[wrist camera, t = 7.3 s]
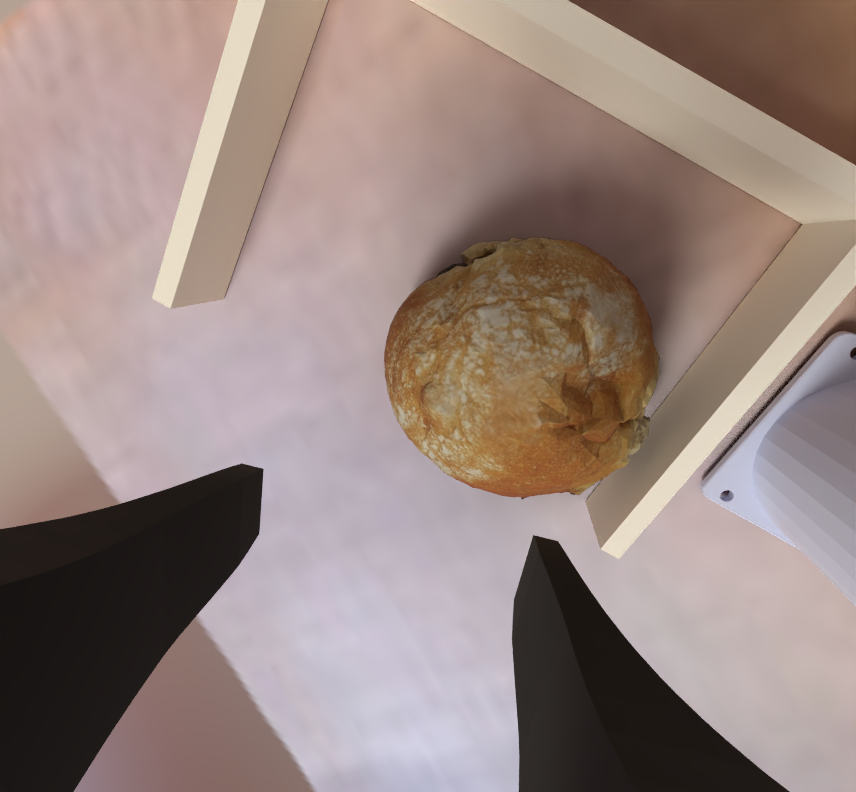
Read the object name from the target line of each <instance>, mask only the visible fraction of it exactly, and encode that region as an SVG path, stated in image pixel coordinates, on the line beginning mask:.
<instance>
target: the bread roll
mask: <svg viewBox="0 0 856 792" xmlns="http://www.w3.org/2000/svg"><path fill="white" fill-rule="evenodd" d="M461 256H462V258H463V260H464V262H463V263H459V264H454V265H451V266H450V267H448V268H446V269H443V270H442V271H441V272H440V273H439V274H438V275H437V277H436V278H435V279H432V280H428V281H425V282H424V283H423V284H421V285H420V286H419V287H418V288H417V289H416V290H415V291H413V292H412V293H411V294H410V295H409V297H408V298H407V299H406V300H405V301H404V302H403V304H402V305H401V307H400V308H399V310H398V311H397V313H396V315H395V317H394V319H393V321H392V323H391V325H390V329H389V333H388V336H387V341H386V347H385V356H384V362H385V378H386V383H387V391H388V394H389V397H390V401H391V404H392V407H393V411H394V414H395V416H396V418H397V421H398V422H399V424H400V426H401V427H402V429H403V430H404V432H405V433H406V435H407V437H408V438H409V440H411V441H412V442H413V443H414V444H415V446H416V447H417V449H418V450H419V451H420V452H422V453H423V454H424V455H426V456H427V457H428V458H429V459H431V460H432V461H433V462H434V463H435V464H436V465H437V466H438V467H439V468H440V469H441V470H442V471H443V472H444V473H446V474H447V475H449V476H451V477H453V478H455V479H456V480H459V481H461V482H464V483H466V484H467V485H469V486H471V487H473V488H478V489H481V490H485V491H488V492H491V493H495V494H498V495H501V496H509V497H521V498H522V499H524V498H526V497H529V496H535V495H543V494H551V493H558V492H559V493H563V492H570V493H571V494H573V495H575V494H577V495H579V494H581V493H582V492H583V491H585V490H586V489H587V488H589V487H590V486H592V485H593V484H595V483H596V482H598V481H599V480H601V479H603V478H605V477H607V476H608V475H609V474H611V473H613V472H615V470H617V469H619V468H622V467H625V466H626V465H627V464H628V463H629V461H630V458H629V456H628V455H629V454H635V453H636V452H637V451H638V450H639V449H640V448H642V447H643V443H644V441H645V439H646V438H647V436H649V424H650V418H649V417H648V418H647V417H646V416H644V413H645V406H647V404H648V402H649V400H650V399H651V397H652V395H653V393H654V390H655V387H656V384H657V380H658V377H659V373H660V371H659V370H658V362H659V358H660V357H659V354H658V352H657V350H656V348H655V346H654V344H653V338H652V324H651V320H650V317H649V315H648V312H647V310H646V308H645V306H644V304H643V302H642V300H641V297H640V295H639V293H638V290H637V289H636V288H635V286H634V285H633V284H632V282H631V281H630V280H629V278H627V277H626V276H625V275H624V274H623V273H621V272H620V271H619V270H618V269H617V268H616V267H615V266H613V265H612V264H611V263H610V262H609V261H608V260H607V259H606V258H604V257H602V256H601V255H599V254H597V253H596V252H594V251H592V250H590V249H589V248H587V247H585V246H584V245H582V244H579V243H576V242H573V241H562V240H552V239H549V238H529V239H526V240H522V239H517V238H511V239H510V240H509V241H503V242H501V241H492V242H480V243H477V244H475V245H472V246H471V247H469V248H468V249H466V250H465V251H464V252H462V253H461Z"/></svg>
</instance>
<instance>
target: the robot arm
mask: <svg viewBox="0 0 856 792" xmlns="http://www.w3.org/2000/svg"><path fill="white" fill-rule="evenodd" d="M855 347H856V334H854V333H851V332H847V331H839V332H837V333H834V334H832V335H831V336H830V337H829V338H828V339H827V340H826V341H825V342H824V343H823V344H822V346H821V347H820V348H819V349H818V350H817V351H816V352H815V354H814V355H813V356H812V357H811V358H810V359H809V360H808V362H807V363H806V364H805V365H804V366H803V367H802V368H801V369H800V371H799V372H798V373H797V374H796V375H795V376H794V377H793V379H792V380H791V381H790V382H789V383H788V384H787V385H786V386H785V388H784V389H783V390H782V391H781V392H780V393H779V394H778V396H777V397H776V398H775V399H774V400H773V401H772V402H771V403H770V405H769V406H768V407H767V408H766V409H765V410H764V411H763V413H762V414H761V415H760V416H759V417H758V418H757V419H756V421H755V422H754V423H753V424H752V425H751V426H750V427H749V428H748V430H747V431H746V432H745V433H744V434H743V435H742V436H741V438H740V439H739V440H738V441H737V442H736V443H735V444H734V445H733V447H732V448H731V449H730V450H729V451H728V452H727V453H726V455H725V456H724V457H723V458H722V459H721V460H720V461H719V463H718V464H717V465H716V466H715V467H714V468H713V469H712V470H711V472H710V473H709V474H708V475H707V476H706V477H705V478H704V480H703V481H702V483H701V485H700V489H701V491H702V493H703V494H704V495H705V496H706V497H707V498H708V499H710V500H712V501H713V502H715V503H717V504H719V505H721V506H722V507H724V508H726V509H728V510H729V511H731V512H733V513H735V514H737V515H738V516H740V517H742V518H744V519H745V520H747V521H749V522H751V523H753V524H754V525H756V526H758V527H760V528H762V529H763V530H765V531H767V532H769V533H770V534H772V535H774V536H776V537H778V538H779V539H781V540H783V541H785V542H786V543H788V544H790V545H792V546H794V547H795V548H797V549H799V550H801V551H802V553H803V554H804V555H805V556H806V557H807V558H808V559H809V560H810V561H811V562H812V563H813V564H814V565H815V566H816V567H817V568H818V569H819V570H820V571H821V572H822V573H823V574H824V575H825V576H826V577H827V578H828V579H829V580H830V581H831V582H832V583H833V584H834V585H835V586H836V587H837V588H838V589H839V590H840V591H841V592H842V593H843V594H844V595H845V597H846V598H847V599H848V600H849V601H850V602H851V603H852V604H853V605H854V606H855V607H856V355H855V356H854V357H850V352H851V350H852V349H853V348H855ZM262 482H263V469H261V468H257V467H253V466H249V465H245V464H239V465H235V466H232V467H229V468H226V469H223V470H220V471H217V472H214V473H211V474H208V475H206V476H203V477H200V478H197V479H195V480H192V481H189V482H186V483H183V484H180V485H178V486H175V487H172V488H169V489H166V490H163V491H160V492H157V493H154V494H151V495H147V496H144V497H141V498H138V499H135V500H132V501H128V502H125V503H122V504H118V505H115V506H111V507H108V508H104V509H100V510H96V511H92V512H88V513H84V514H79V515H75V516H71V517H66V518H62V519H56V520H50V521H45V522H39V523H34V524H28V525H23V526H17V527H12V528H5V529H0V792H73V791H74V790H75V788H76V787H77V785H78V783H79V782H80V780H81V779H82V777H83V776H84V774H85V773H86V771H87V769H88V768H89V766H90V764H91V763H92V761H93V760H94V758H95V757H96V755H97V753H98V752H99V750H100V749H101V747H102V746H103V744H104V743H105V741H106V739H107V738H108V736H109V735H110V733H111V732H112V730H113V729H114V727H115V726H116V724H117V723H118V721H119V720H120V718H121V717H122V715H123V714H124V712H125V711H126V709H127V708H128V706H129V705H130V703H131V702H132V700H133V699H134V697H135V696H136V694H137V693H138V691H139V690H140V689H141V687H142V686H143V684H144V683H145V681H146V680H147V679H148V677H149V676H150V674H151V673H152V671H153V670H154V668H155V667H156V666H157V664H158V663H159V662H160V660H161V659H162V657H163V656H164V655H165V653H166V652H167V651H168V649H169V648H170V647H171V645H172V644H173V643H174V642H175V640H176V639H177V638H178V637H179V635H180V634H181V633H182V632H183V631H184V629H185V628H186V627H187V626H188V625H189V624H190V622H191V621H192V620H193V619H194V618H195V617H196V616H197V614H198V613H199V612H200V611H201V610H202V609H203V607H204V606H205V605H206V604H207V603H208V601H209V600H210V599H211V598H212V597H213V596H214V594H215V593H216V592H217V591H218V590H219V589H220V587H221V586H222V585H223V584H224V583H225V581H226V580H227V579H228V578H229V577H230V575H231V574H232V573H233V572H234V571H235V569H236V568H237V567H238V566H239V564H240V563H241V561H242V560H243V558H244V557H245V555H246V554H247V552H248V551H249V549H250V548H251V546H252V544H253V543H254V541H255V539H256V538H257V536H258V535H259V529H260V513H261V498H262ZM726 490H729V491H730V492H729V494H728V495H726V496H724V497H720V495H721V493H722V492H723V491H726ZM512 645H513V660H514V675H515V689H516V703H517V717H518V730H519V756H520V760H519V792H789V791H788V790H787V789H785V788H784V787H783V786H781V785H780V784H779V783H778V782H776V781H775V780H774V779H772V778H771V777H770V776H768V775H767V774H766V773H765V772H763V771H762V770H761V769H760V768H758V767H757V766H756V765H755V764H754V763H753V762H751V761H750V760H749V759H748V758H747V757H745V756H744V755H743V754H742V753H741V752H740V751H738V750H737V749H736V748H735V747H734V746H732V745H731V744H730V743H729V742H728V741H727V740H725V739H724V738H723V737H722V736H721V735H720V734H719V733H718V732H716V731H715V730H714V729H713V728H712V727H711V726H710V725H709V724H708V723H706V722H705V721H704V720H703V719H702V718H701V717H700V716H699V715H698V714H697V713H696V712H695V711H694V710H693V709H692V708H691V707H690V706H689V705H688V704H686V703H685V702H684V701H683V700H682V699H681V698H680V697H679V696H678V695H677V694H676V693H675V692H674V691H673V690H672V689H671V688H670V687H669V686H668V685H667V684H666V683H665V682H664V681H663V680H662V679H661V678H660V676H659V675H658V674H657V673H656V672H655V671H654V670H653V669H652V668H651V667H650V665H649V664H648V663H647V662H646V661H645V660H644V659H643V658H642V657H641V656H640V654H639V653H638V652H637V651H636V650H635V649H634V648H633V646H632V645H631V644H630V643H629V642H628V640H627V639H626V638H625V637H624V635H623V634H622V633H621V632H620V630H619V629H618V628H617V627H616V625H615V624H614V623H613V621H612V620H611V619H610V618H609V616H608V615H607V614H606V612H605V611H604V610H603V608H602V607H601V605H600V604H599V603H598V601H597V600H596V598H595V597H594V596H593V594H592V593H591V591H590V590H589V588H588V587H587V585H586V584H585V582H584V581H583V579H582V578H581V576H580V575H579V573H578V572H577V570H576V569H575V567H574V566H573V564H572V563H571V561H570V559H569V558H568V556H567V555H566V553H565V552H564V550H563V548H562V547H561V545H560V544H559V542H558V541H555V540H550V539H546V538H542V537H538V536H534V535H533V538H532V542H531V545H530V548H529V552H528V555H527V558H526V562H525V565H524V568H523V572H522V575H521V578H520V582H519V585H518V588H517V592H516V595H515V598H514V610H513V630H512Z"/></svg>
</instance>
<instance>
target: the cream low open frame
mask: <svg viewBox="0 0 856 792" xmlns="http://www.w3.org/2000/svg"><path fill="white" fill-rule="evenodd" d="M410 1H412V2H414V3H416V4H417V5H419V6H421V7H423V8H425V9H426V10H428V11H430V12H432V13H433V14H435V15H437V16H439V17H440V18H442V19H444V20H446V21H447V22H449V23H451V24H453V25H454V26H456V27H458V28H460V29H461V30H463V31H465V32H467V33H468V34H470V35H472V36H474V37H475V38H477V39H479V40H481V41H482V42H484V43H486V44H488V45H489V46H491V47H493V48H495V49H496V50H498V51H500V52H502V53H503V54H505V55H507V56H509V57H510V58H512V59H514V60H516V61H517V62H519V63H521V64H523V65H524V66H526V67H528V68H530V69H531V70H533V71H535V72H537V73H538V74H540V75H542V76H544V77H545V78H547V79H549V80H551V81H552V82H554V83H556V84H558V85H559V86H561V87H563V88H565V89H566V90H568V91H570V92H572V93H573V94H575V95H577V96H579V97H580V98H582V99H584V100H586V101H587V102H589V103H591V104H593V105H594V106H596V107H598V108H600V109H601V110H603V111H605V112H607V113H608V114H610V115H612V116H614V117H615V118H617V119H619V120H621V121H622V122H624V123H626V124H628V125H629V126H631V127H633V128H635V129H636V130H638V131H640V132H642V133H643V134H645V135H647V136H649V137H650V138H652V139H654V140H656V141H657V142H659V143H661V144H663V145H664V146H666V147H668V148H670V149H671V150H673V151H675V152H677V153H678V154H680V155H682V156H684V157H685V158H687V159H689V160H691V161H692V162H694V163H696V164H698V165H699V166H701V167H703V168H705V169H706V170H708V171H710V172H712V173H714V174H715V175H717V176H719V177H721V178H722V179H724V180H726V181H728V182H729V183H731V184H733V185H735V186H736V187H738V188H740V189H742V190H743V191H745V192H747V193H749V194H750V195H752V196H754V197H756V198H757V199H759V200H761V201H763V202H764V203H766V204H768V205H770V206H771V207H773V208H775V209H777V210H778V211H780V212H782V213H784V214H785V215H787V216H789V217H791V218H792V219H794V220H796V221H798V222H799V223H801V224H802V225H801V227H800V228H799V229H798V231H797V232H796V233H795V234H794V236H793V237H792V238H791V239H790V241H789V242H788V243H787V245H786V246H785V247H784V248H783V250H782V251H781V252H780V254H779V255H778V256H777V257H776V259H775V260H774V261H773V262H772V264H771V265H770V266H769V268H768V269H767V270H766V271H765V273H764V274H763V275H762V277H761V278H760V279H759V280H758V282H757V283H756V284H755V285H754V287H753V288H752V289H751V291H750V292H749V293H748V294H747V296H746V297H745V298H744V300H743V301H742V302H741V303H740V305H739V306H738V307H737V308H736V310H735V311H734V312H733V314H732V315H731V316H730V317H729V319H728V320H727V321H726V323H725V324H724V325H723V326H722V328H721V329H720V330H719V331H718V333H717V334H716V335H715V337H714V338H713V339H712V340H711V342H710V343H709V344H708V346H707V347H706V348H705V349H704V351H703V352H702V353H701V354H700V356H699V357H698V358H697V360H696V361H695V362H694V363H693V365H692V366H691V367H690V369H689V370H688V371H687V372H686V374H685V375H684V376H683V377H682V379H681V380H680V381H679V383H678V384H677V385H676V386H675V388H674V389H673V390H672V392H671V393H670V394H669V395H668V397H667V398H666V399H665V400H664V402H663V403H662V404H661V406H660V407H659V408H658V409H657V411H656V412H655V413H654V415H653V416H652V417H651V418H650V424H649V436H647V438H646V439H645V441H644V443H643V447H642V448H640V449H639V450H638V451H637V452H636V453H635V454H629V455H628V456H629V458H630V461H629V463H628V464H627V465H626V466H625V467H622V468H619V469H617V470H615V472H613V473H611V474H609V475H608V476H607V477H605V478H603V480H602V481H601V482H600V484H599V485H598V486H597V487H596V489H595V490H594V491H593V492H592V494H591V495H590V496H589V498H588V499H587V500H586V501H585V502H586V505H587V508H588V511H589V514H590V517H591V520H592V524H593V527H594V530H595V533H596V536H597V539H598V542H599V546H600V549H602V550H603V551H605V552H607V553H609V554H611V555H612V556H614V557H616V558H618V559H619V558H620V557H621V556H622V555H623V554H624V552H625V551H626V550H627V549H628V548H629V547H630V545H631V544H632V543H633V542H634V541H635V540H636V538H637V537H638V536H639V535H640V534H641V533H642V532H643V530H644V529H645V528H646V527H647V526H648V525H649V523H650V522H651V521H652V520H653V519H654V518H655V517H656V515H657V514H658V513H659V512H660V511H661V510H662V508H663V507H664V506H665V505H666V504H667V503H668V502H669V500H670V499H671V498H672V497H673V496H674V495H675V493H676V492H677V491H678V490H679V489H680V488H681V487H682V485H683V484H684V483H685V482H686V481H687V480H688V478H689V477H690V476H691V475H692V474H693V473H694V471H695V470H696V469H697V468H698V467H699V466H700V465H701V463H702V462H703V461H704V460H705V459H706V458H707V456H708V455H709V454H710V453H711V452H712V451H713V450H714V448H715V447H716V446H717V445H718V444H719V443H720V441H721V440H722V439H723V438H724V437H725V436H726V435H727V433H728V432H729V431H730V430H731V429H732V428H733V426H734V425H735V424H736V423H737V422H738V421H739V420H740V418H741V417H742V416H743V415H744V414H745V413H746V411H747V410H748V409H749V408H750V407H751V406H752V404H753V403H754V402H755V401H756V400H757V399H758V398H759V396H760V395H761V394H762V393H763V392H764V391H765V389H766V388H767V387H768V386H769V385H770V384H771V383H772V381H773V380H774V379H775V378H776V377H777V376H778V374H779V373H780V372H781V371H782V370H783V369H784V368H785V366H786V365H787V364H788V363H789V362H790V361H791V359H792V358H793V357H794V356H795V355H796V354H797V352H798V351H799V350H800V349H801V348H802V347H803V346H804V344H805V343H806V342H807V341H808V340H809V339H810V337H811V336H812V335H813V334H814V333H815V332H816V331H817V329H818V328H819V327H820V326H821V325H822V324H823V322H824V321H825V320H826V319H827V318H828V317H829V316H830V314H831V313H832V312H833V311H834V310H835V309H836V307H837V306H838V305H839V304H840V303H841V302H842V301H843V299H844V298H845V297H846V296H847V295H848V294H849V292H850V291H851V290H852V289H853V288H854V287H855V285H856V165H854V164H852V163H851V162H849V161H847V160H846V159H844V158H842V157H840V156H839V155H837V154H835V153H833V152H832V151H830V150H828V149H826V148H825V147H823V146H821V145H819V144H818V143H816V142H814V141H812V140H811V139H809V138H807V137H805V136H804V135H802V134H800V133H798V132H797V131H795V130H793V129H791V128H790V127H788V126H786V125H784V124H783V123H781V122H779V121H778V120H776V119H774V118H772V117H771V116H769V115H767V114H765V113H764V112H762V111H760V110H758V109H757V108H755V107H753V106H751V105H750V104H748V103H746V102H744V101H743V100H741V99H739V98H737V97H736V96H734V95H732V94H730V93H729V92H727V91H725V90H723V89H722V88H720V87H718V86H716V85H715V84H713V83H711V82H710V81H708V80H706V79H704V78H703V77H701V76H699V75H697V74H696V73H694V72H692V71H690V70H689V69H687V68H685V67H683V66H682V65H680V64H678V63H676V62H675V61H673V60H671V59H669V58H668V57H666V56H664V55H662V54H661V53H659V52H657V51H655V50H654V49H652V48H650V47H648V46H647V45H645V44H643V43H641V42H640V41H638V40H636V39H635V38H633V37H631V36H629V35H628V34H626V33H624V32H622V31H621V30H619V29H617V28H615V27H614V26H612V25H610V24H608V23H607V22H605V21H603V20H601V19H600V18H598V17H596V16H594V15H593V14H591V13H589V12H587V11H586V10H584V9H582V8H580V7H579V6H577V5H575V4H573V3H572V2H570V1H568V0H410ZM327 3H328V0H238V3H237V7H236V10H235V14H234V17H233V20H232V24H231V27H230V31H229V34H228V38H227V41H226V45H225V48H224V51H223V55H222V58H221V62H220V65H219V69H218V72H217V76H216V79H215V82H214V86H213V89H212V93H211V96H210V100H209V103H208V107H207V110H206V113H205V117H204V120H203V124H202V127H201V131H200V134H199V138H198V141H197V145H196V148H195V151H194V155H193V158H192V162H191V165H190V169H189V172H188V176H187V179H186V182H185V186H184V189H183V193H182V196H181V200H180V203H179V207H178V210H177V213H176V217H175V220H174V224H173V227H172V231H171V234H170V238H169V241H168V244H167V248H166V251H165V255H164V258H163V262H162V265H161V269H160V272H159V276H158V279H157V282H156V286H155V289H154V293H153V296H152V299H154V300H156V301H158V302H159V303H161V304H163V305H165V306H166V307H168V308H170V309H172V308H177V307H183V306H188V305H194V304H199V303H205V302H210V301H216V300H221V299H224V297H225V294H226V291H227V288H228V286H229V283H230V280H231V277H232V274H233V271H234V268H235V266H236V263H237V260H238V257H239V254H240V251H241V248H242V246H243V243H244V240H245V237H246V234H247V231H248V228H249V226H250V223H251V220H252V217H253V214H254V211H255V208H256V206H257V203H258V200H259V197H260V194H261V191H262V188H263V186H264V183H265V180H266V177H267V174H268V171H269V168H270V166H271V163H272V160H273V157H274V154H275V151H276V148H277V146H278V143H279V140H280V137H281V134H282V131H283V128H284V126H285V123H286V120H287V117H288V114H289V111H290V108H291V106H292V103H293V100H294V97H295V94H296V91H297V88H298V86H299V83H300V80H301V77H302V74H303V71H304V68H305V66H306V63H307V60H308V57H309V54H310V51H311V48H312V46H313V43H314V40H315V37H316V34H317V31H318V28H319V26H320V23H321V20H322V17H323V14H324V11H325V8H326V6H327Z"/></svg>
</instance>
